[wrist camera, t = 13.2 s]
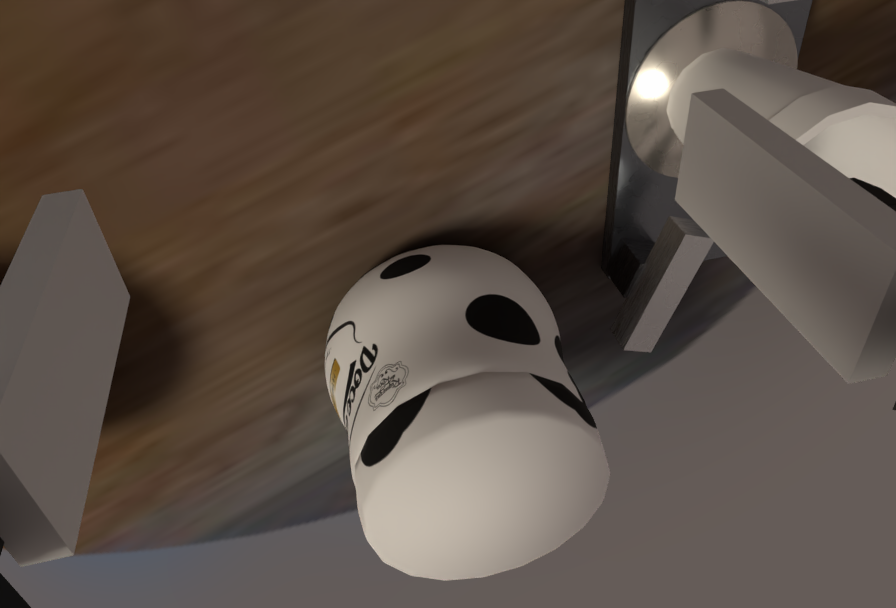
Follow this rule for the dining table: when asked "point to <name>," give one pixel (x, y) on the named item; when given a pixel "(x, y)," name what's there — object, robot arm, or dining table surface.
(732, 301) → the dining table surface
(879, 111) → the foam cup
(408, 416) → the milk container
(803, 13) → the shaft stand
